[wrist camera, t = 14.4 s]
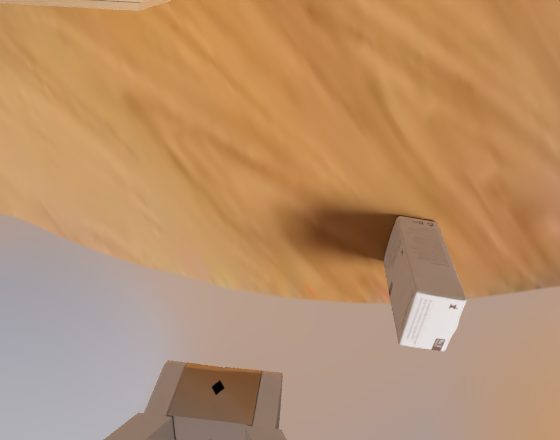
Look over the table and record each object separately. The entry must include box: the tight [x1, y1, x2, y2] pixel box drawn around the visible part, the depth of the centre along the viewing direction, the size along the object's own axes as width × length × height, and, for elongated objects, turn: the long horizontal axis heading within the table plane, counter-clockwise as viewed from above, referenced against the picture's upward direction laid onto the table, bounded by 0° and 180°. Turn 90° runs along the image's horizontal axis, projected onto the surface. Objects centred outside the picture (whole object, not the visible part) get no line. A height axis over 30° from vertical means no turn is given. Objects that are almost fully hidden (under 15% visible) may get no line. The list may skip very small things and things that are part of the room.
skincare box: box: [384, 216, 467, 351], centre depth 44 cm, size 6×4×12 cm
